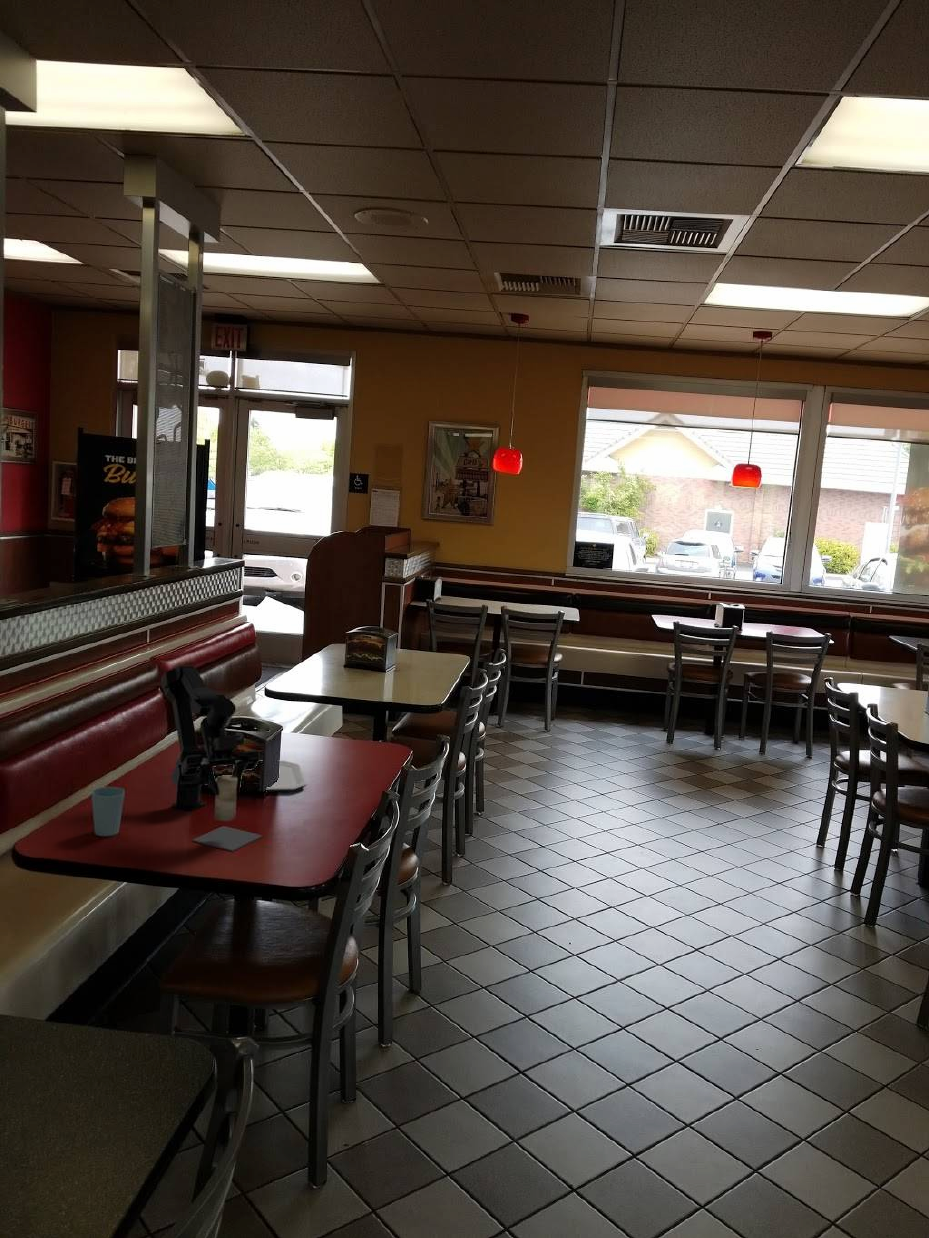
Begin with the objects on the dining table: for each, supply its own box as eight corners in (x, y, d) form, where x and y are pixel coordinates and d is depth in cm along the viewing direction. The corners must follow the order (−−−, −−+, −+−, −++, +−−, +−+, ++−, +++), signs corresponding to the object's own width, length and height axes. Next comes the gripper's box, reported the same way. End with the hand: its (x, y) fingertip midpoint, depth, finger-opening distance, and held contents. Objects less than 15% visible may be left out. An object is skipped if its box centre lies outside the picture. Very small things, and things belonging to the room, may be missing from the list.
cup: (123, 826, 239) (124, 786, 238) (123, 837, 232) (125, 795, 231) (91, 827, 237) (92, 787, 235) (90, 838, 229) (91, 797, 228)
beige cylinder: (217, 813, 237) (219, 774, 236) (237, 814, 237) (239, 776, 236) (212, 819, 232) (214, 780, 231) (232, 821, 232) (234, 782, 231)
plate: (204, 796, 268) (205, 789, 267) (204, 767, 295) (204, 760, 295) (308, 795, 276) (308, 788, 275) (297, 766, 303) (298, 760, 303)
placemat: (223, 827, 244) (223, 825, 244) (262, 837, 239) (262, 835, 239) (192, 841, 233) (192, 839, 233) (232, 851, 228) (233, 850, 228)
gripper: (186, 723, 230) (199, 781, 222) (260, 719, 240) (274, 773, 232) (175, 746, 237) (187, 803, 229) (247, 741, 247) (260, 795, 240)
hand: (228, 793), depth 233 cm, fingers closed on beige cylinder, 5 cm apart
